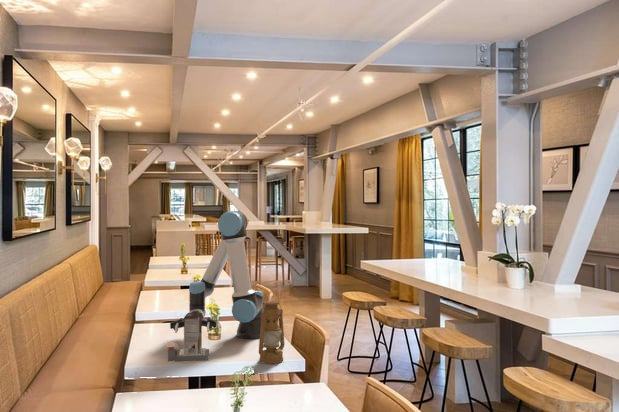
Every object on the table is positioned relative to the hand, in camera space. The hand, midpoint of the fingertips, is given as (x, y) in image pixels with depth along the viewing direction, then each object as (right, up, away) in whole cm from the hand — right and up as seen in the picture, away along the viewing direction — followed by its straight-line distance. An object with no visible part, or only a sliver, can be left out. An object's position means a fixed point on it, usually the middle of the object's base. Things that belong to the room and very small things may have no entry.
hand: (191, 329), depth 219 cm
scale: (-3, -13, +3) cm, 14 cm away
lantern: (+34, -14, -1) cm, 37 cm away
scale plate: (0, -11, +3) cm, 12 cm away
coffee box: (0, -11, +3) cm, 11 cm away
